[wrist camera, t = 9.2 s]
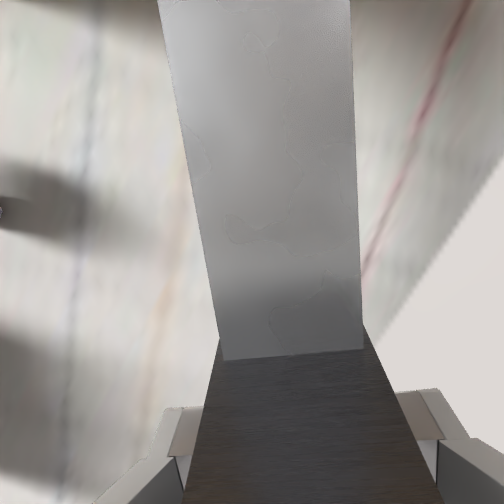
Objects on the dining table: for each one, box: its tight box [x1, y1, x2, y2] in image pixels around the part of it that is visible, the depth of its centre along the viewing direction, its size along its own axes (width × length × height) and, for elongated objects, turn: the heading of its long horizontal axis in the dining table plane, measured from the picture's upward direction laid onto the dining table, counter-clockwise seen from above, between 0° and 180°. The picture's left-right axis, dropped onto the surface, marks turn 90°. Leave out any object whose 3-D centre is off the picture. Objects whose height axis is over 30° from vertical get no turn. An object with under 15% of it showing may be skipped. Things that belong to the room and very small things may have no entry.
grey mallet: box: [157, 0, 445, 504], centre depth 7 cm, size 17×4×6 cm, turn 8°
